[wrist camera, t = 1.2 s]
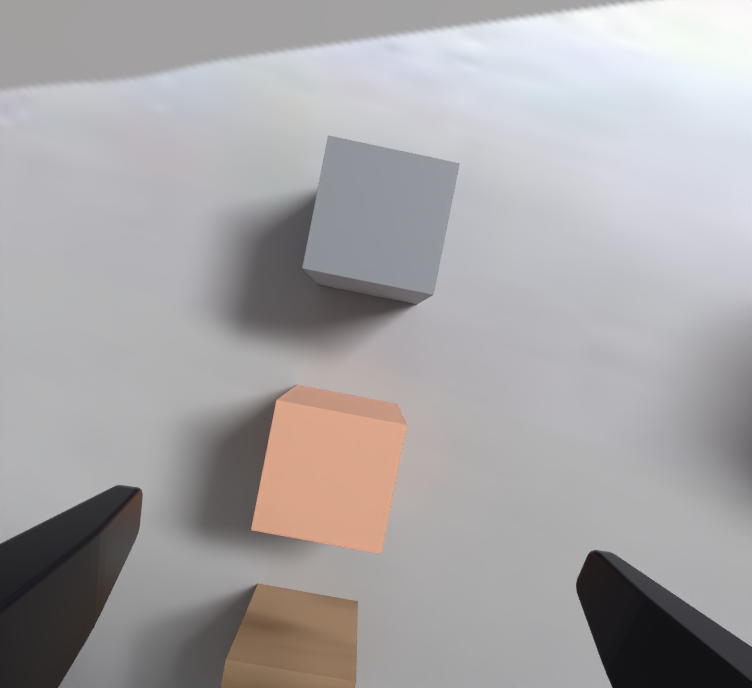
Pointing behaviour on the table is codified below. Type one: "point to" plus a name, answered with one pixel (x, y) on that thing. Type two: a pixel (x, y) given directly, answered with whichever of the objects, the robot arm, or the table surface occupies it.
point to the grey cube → (379, 220)
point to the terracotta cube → (330, 468)
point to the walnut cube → (294, 642)
